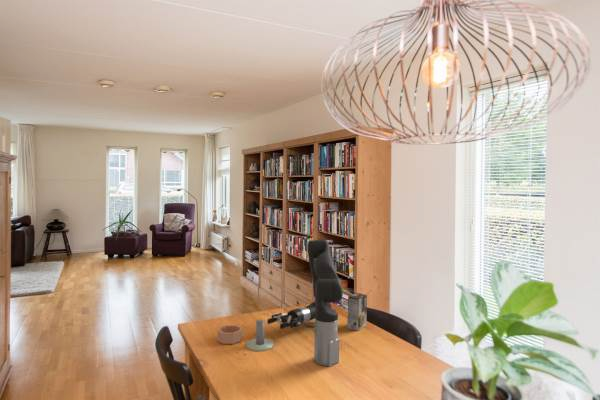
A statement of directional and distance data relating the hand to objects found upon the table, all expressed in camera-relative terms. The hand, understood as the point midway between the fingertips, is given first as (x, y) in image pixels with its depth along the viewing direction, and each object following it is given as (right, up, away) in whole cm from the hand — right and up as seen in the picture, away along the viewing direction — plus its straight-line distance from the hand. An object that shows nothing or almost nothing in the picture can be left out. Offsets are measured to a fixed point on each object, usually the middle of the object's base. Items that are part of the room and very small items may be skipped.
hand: (274, 324), depth 181 cm
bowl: (-20, -7, 0) cm, 21 cm away
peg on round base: (-6, -8, -6) cm, 11 cm away
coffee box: (+40, -8, +19) cm, 45 cm away
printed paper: (+13, -8, +22) cm, 27 cm away
